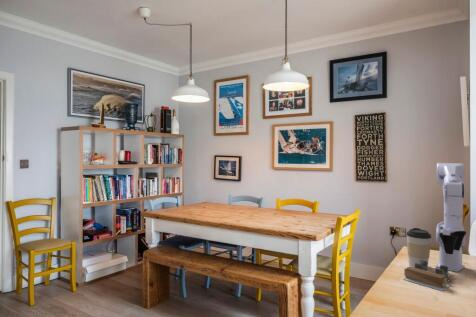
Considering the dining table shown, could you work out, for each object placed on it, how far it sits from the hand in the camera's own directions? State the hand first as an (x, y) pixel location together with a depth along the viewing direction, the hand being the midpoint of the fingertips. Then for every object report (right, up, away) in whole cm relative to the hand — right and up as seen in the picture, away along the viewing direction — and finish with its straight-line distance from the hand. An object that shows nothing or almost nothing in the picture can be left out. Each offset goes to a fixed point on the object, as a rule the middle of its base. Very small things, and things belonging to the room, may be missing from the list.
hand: (452, 251), depth 121 cm
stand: (-6, -10, +3) cm, 12 cm away
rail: (-11, -10, -2) cm, 15 cm away
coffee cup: (-4, -10, +15) cm, 19 cm away
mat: (-11, -10, -3) cm, 15 cm away
